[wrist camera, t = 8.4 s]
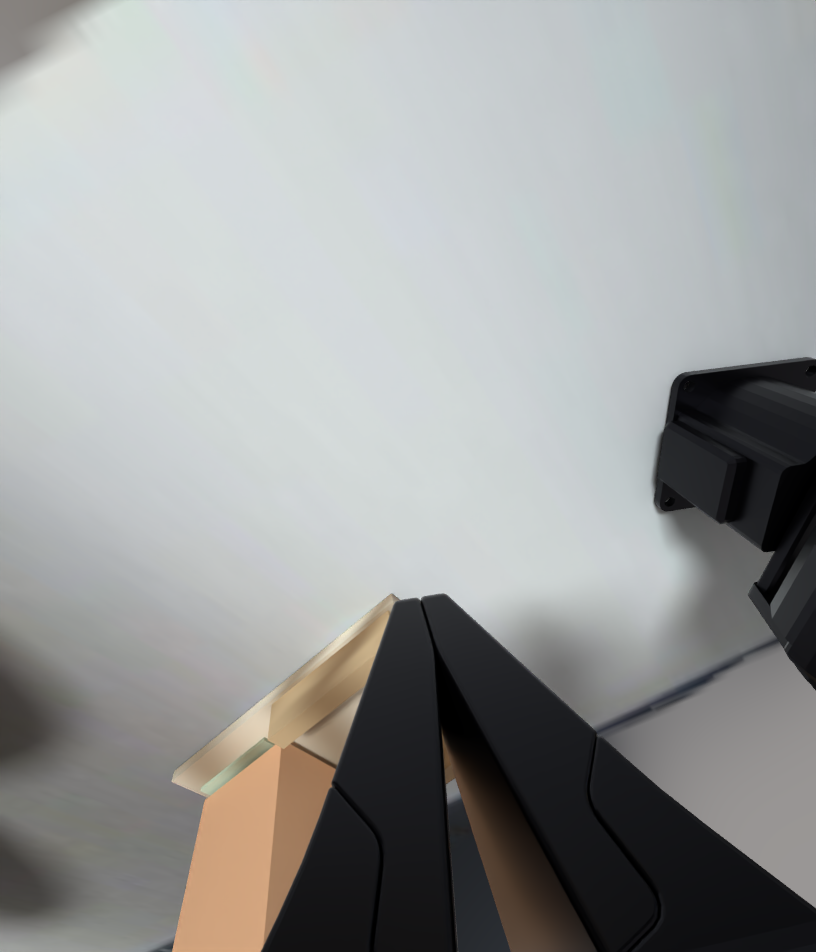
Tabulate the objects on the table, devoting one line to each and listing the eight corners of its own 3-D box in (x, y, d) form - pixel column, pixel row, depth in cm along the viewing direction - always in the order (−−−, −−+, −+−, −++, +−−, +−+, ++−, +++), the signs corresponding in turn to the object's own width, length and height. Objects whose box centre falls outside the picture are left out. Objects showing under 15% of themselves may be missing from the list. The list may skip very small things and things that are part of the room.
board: (391, 593, 24) (398, 631, 22) (511, 689, 28) (527, 730, 26) (174, 770, 28) (160, 820, 25) (311, 834, 32) (309, 882, 29)
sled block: (281, 739, 26) (258, 1002, 17) (362, 784, 29) (378, 1034, 20) (204, 800, 27) (145, 1075, 18) (289, 837, 30) (272, 1097, 21)
